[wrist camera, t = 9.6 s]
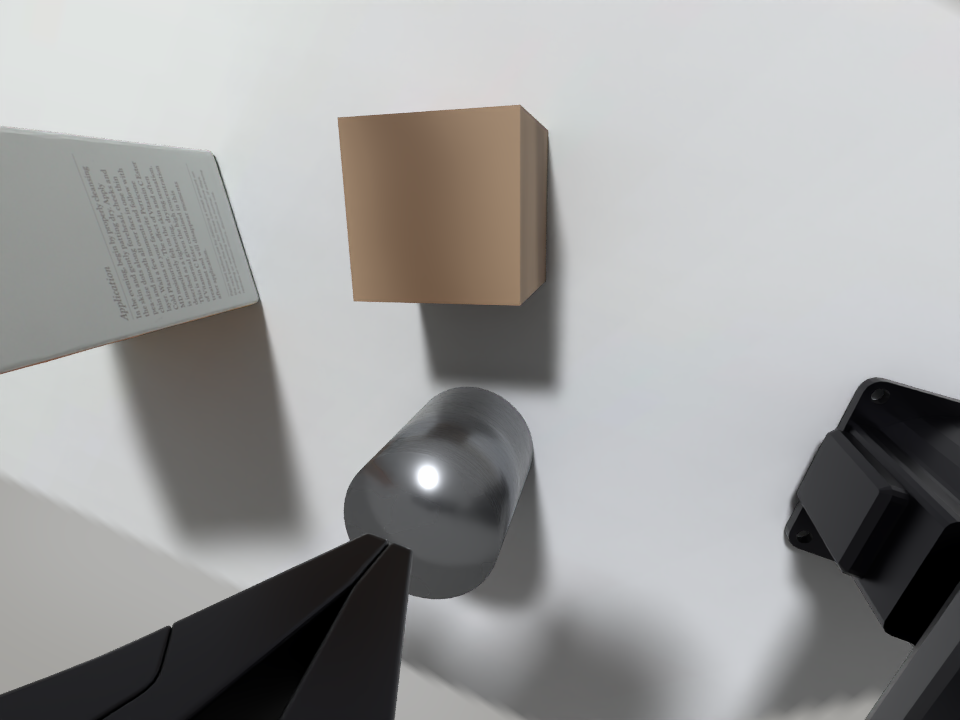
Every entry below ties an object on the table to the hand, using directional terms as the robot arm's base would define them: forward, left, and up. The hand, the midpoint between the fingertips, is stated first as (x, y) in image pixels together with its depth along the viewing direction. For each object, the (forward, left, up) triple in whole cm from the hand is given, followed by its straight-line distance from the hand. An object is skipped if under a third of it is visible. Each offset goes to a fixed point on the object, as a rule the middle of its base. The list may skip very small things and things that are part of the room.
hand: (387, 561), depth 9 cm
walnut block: (+3, -5, -12) cm, 13 cm away
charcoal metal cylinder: (+1, +4, -12) cm, 13 cm away
